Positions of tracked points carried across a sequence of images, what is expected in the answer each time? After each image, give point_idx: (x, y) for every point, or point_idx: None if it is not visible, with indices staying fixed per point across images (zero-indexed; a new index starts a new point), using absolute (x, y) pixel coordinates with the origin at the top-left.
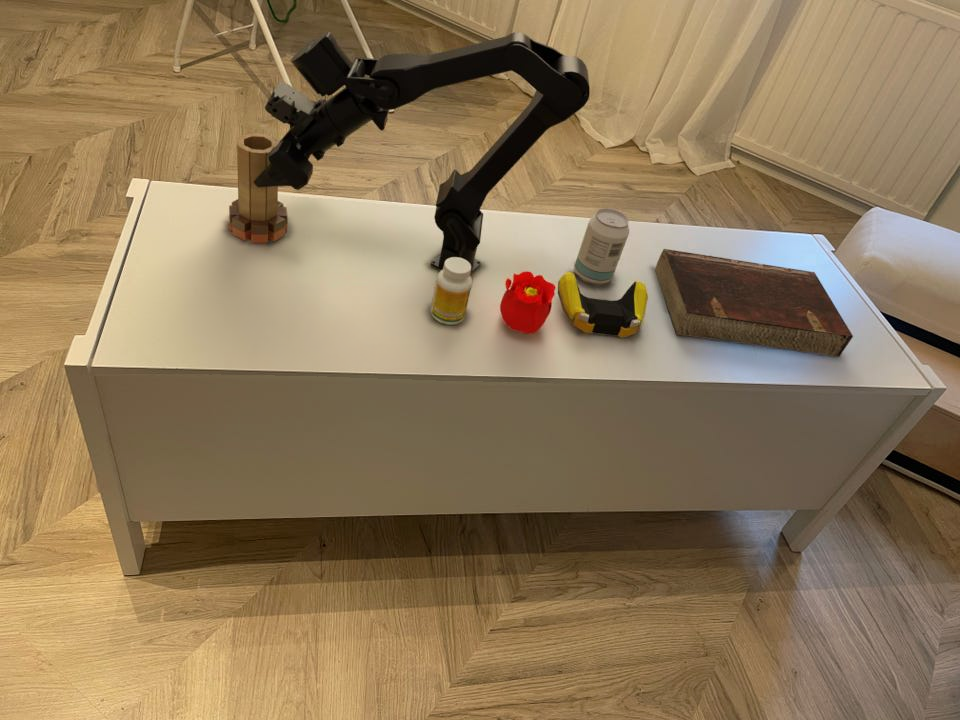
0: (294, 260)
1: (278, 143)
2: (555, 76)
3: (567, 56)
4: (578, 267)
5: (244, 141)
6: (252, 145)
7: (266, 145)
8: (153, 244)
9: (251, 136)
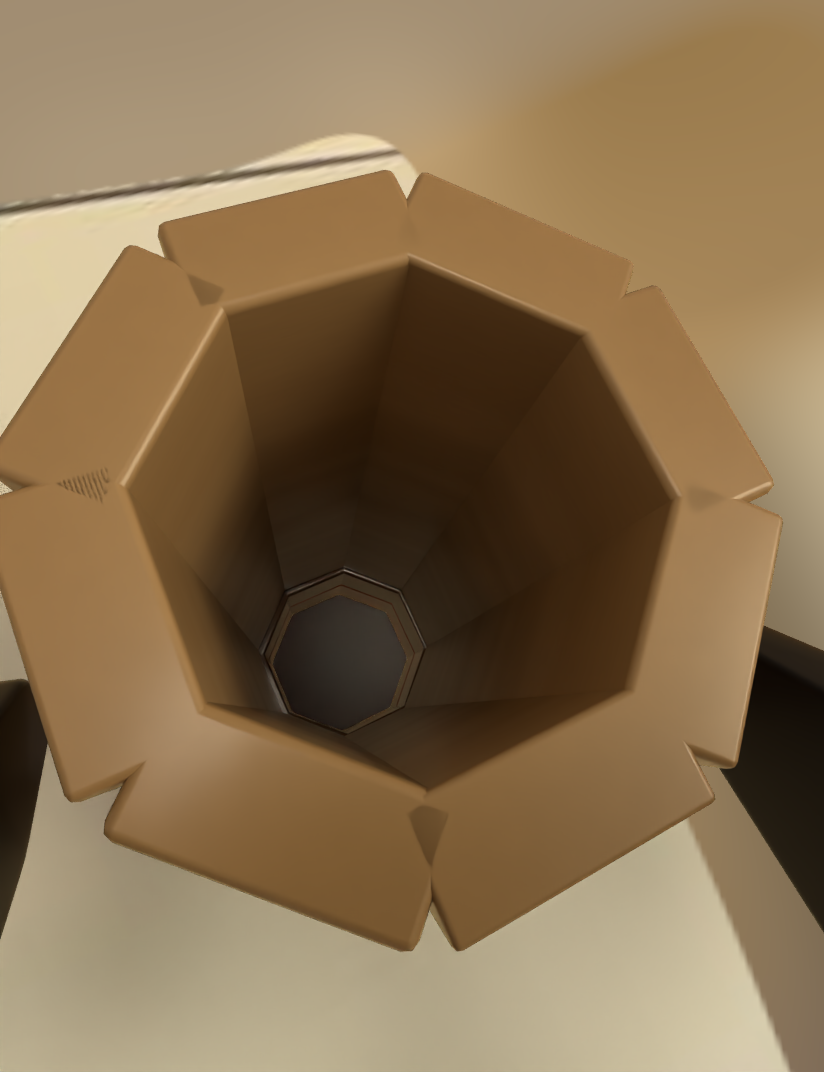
0: (97, 995)
1: (814, 683)
2: None
3: None
4: None
5: (412, 293)
6: (529, 420)
7: (595, 598)
8: (4, 294)
9: (572, 332)
